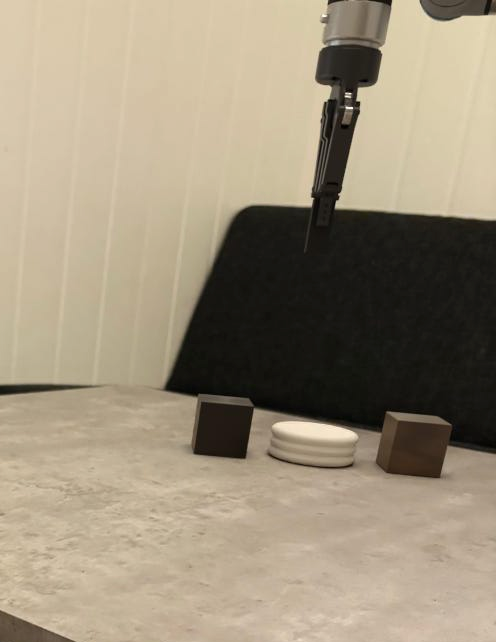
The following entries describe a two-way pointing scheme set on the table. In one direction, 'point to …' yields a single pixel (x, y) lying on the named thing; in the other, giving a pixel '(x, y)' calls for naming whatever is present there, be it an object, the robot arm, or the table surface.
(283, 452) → the white stacked disc
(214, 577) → the table surface
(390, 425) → the dark brown wooden cube
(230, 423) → the dark brown cube
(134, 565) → the table surface
